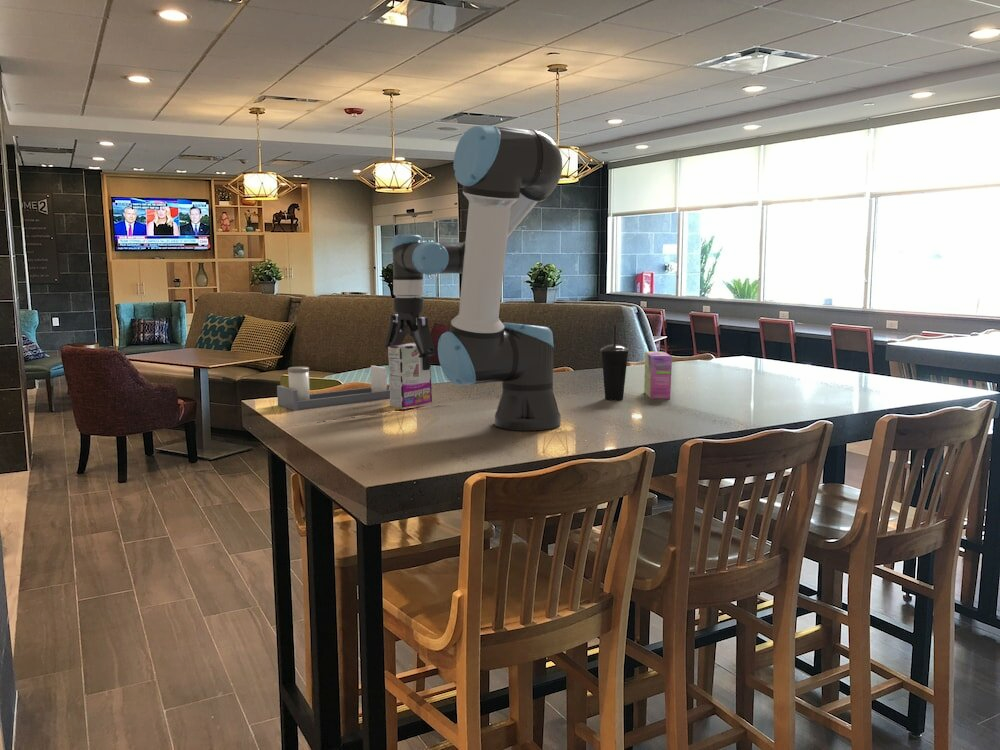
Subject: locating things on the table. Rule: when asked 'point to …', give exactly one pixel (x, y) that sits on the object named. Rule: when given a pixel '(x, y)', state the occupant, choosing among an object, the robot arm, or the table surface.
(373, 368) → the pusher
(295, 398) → the lane
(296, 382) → the jar
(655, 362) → the box
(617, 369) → the drinking cup
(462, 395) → the table surface
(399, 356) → the candy bar box
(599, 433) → the table surface
